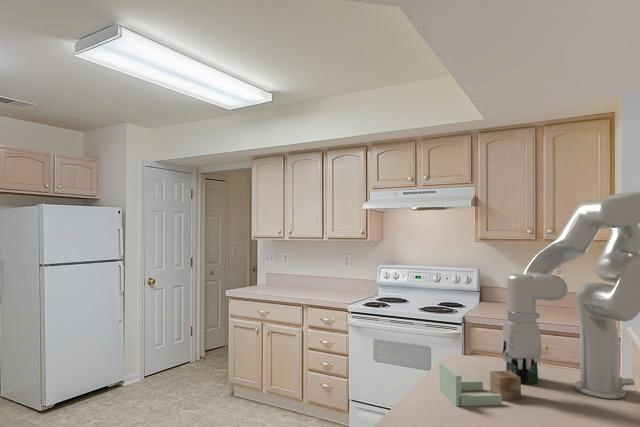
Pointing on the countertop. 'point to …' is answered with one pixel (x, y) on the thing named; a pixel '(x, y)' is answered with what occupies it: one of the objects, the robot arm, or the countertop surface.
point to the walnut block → (505, 385)
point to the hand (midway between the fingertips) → (521, 382)
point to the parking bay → (464, 389)
